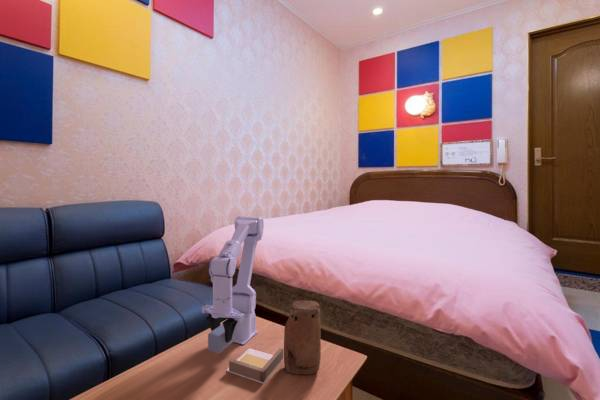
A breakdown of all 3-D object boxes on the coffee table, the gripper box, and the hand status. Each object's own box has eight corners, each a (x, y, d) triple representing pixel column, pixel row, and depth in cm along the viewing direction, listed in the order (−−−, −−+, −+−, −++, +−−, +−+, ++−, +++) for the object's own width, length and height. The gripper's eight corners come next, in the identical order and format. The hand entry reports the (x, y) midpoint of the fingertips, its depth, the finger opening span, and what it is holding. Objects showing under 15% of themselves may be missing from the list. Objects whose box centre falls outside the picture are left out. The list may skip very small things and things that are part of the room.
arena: (249, 349, 96) (249, 339, 96) (283, 359, 91) (283, 348, 91) (226, 371, 85) (226, 360, 85) (263, 383, 80) (263, 372, 80)
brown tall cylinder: (317, 360, 91) (319, 298, 90) (321, 376, 84) (322, 309, 82) (283, 361, 90) (284, 299, 89) (283, 377, 83) (284, 310, 81)
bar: (225, 336, 93) (225, 321, 92) (235, 339, 91) (235, 324, 91) (208, 350, 85) (208, 333, 85) (218, 353, 84) (218, 337, 84)
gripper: (194, 296, 87) (194, 340, 88) (234, 305, 81) (234, 352, 82) (210, 288, 93) (210, 329, 94) (248, 296, 87) (248, 339, 88)
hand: (222, 339), depth 88 cm, fingers closed on bar, 4 cm apart
